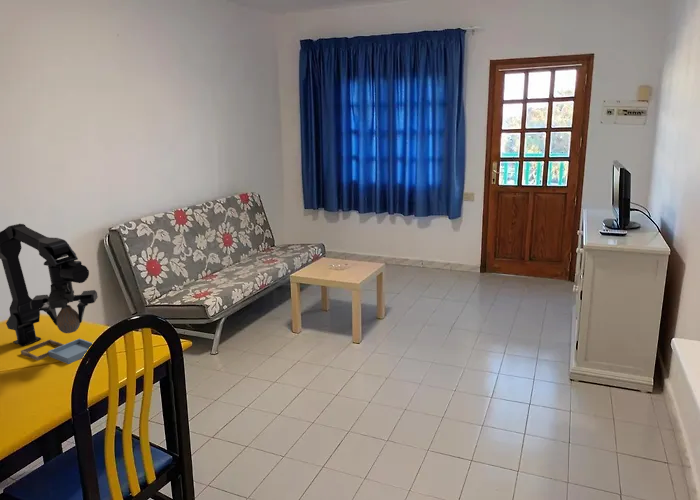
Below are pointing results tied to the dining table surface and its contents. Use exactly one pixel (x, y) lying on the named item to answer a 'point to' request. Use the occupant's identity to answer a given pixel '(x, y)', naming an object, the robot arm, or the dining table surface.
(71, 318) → the vase
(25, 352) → the walnut frame
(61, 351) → the slate tray
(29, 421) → the dining table surface
